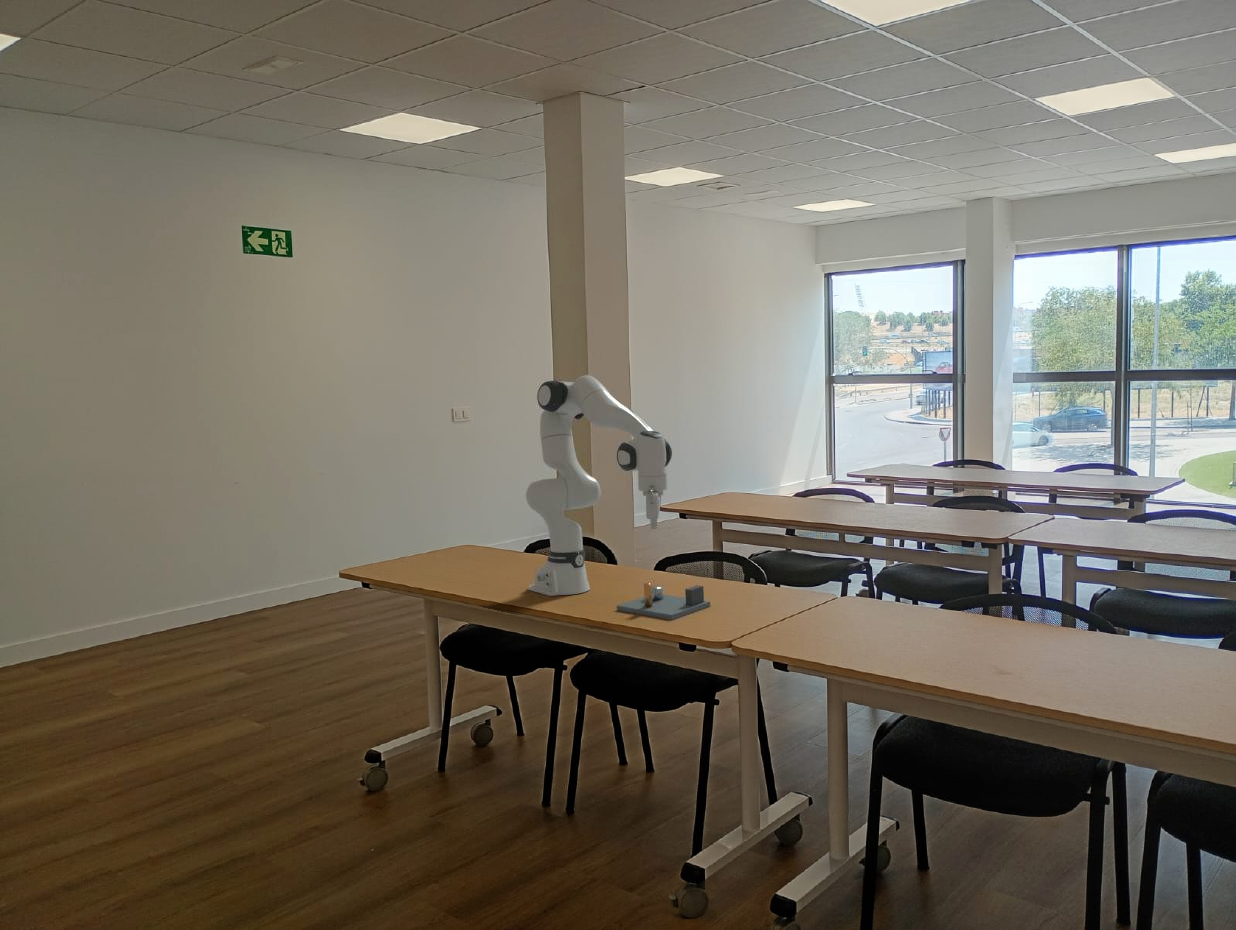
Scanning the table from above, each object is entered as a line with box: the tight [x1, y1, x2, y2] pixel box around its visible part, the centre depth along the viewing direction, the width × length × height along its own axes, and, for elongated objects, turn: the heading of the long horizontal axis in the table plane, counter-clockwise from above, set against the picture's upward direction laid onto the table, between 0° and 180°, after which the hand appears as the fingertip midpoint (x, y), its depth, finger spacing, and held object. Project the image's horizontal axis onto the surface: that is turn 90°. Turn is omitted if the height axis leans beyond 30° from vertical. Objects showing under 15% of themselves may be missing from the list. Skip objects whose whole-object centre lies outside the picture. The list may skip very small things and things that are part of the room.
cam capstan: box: [643, 582, 664, 607], centre depth 298 cm, size 14×5×7 cm, turn 165°
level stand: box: [616, 584, 711, 621], centre depth 296 cm, size 22×19×6 cm
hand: (654, 528), depth 295 cm, fingers closed
